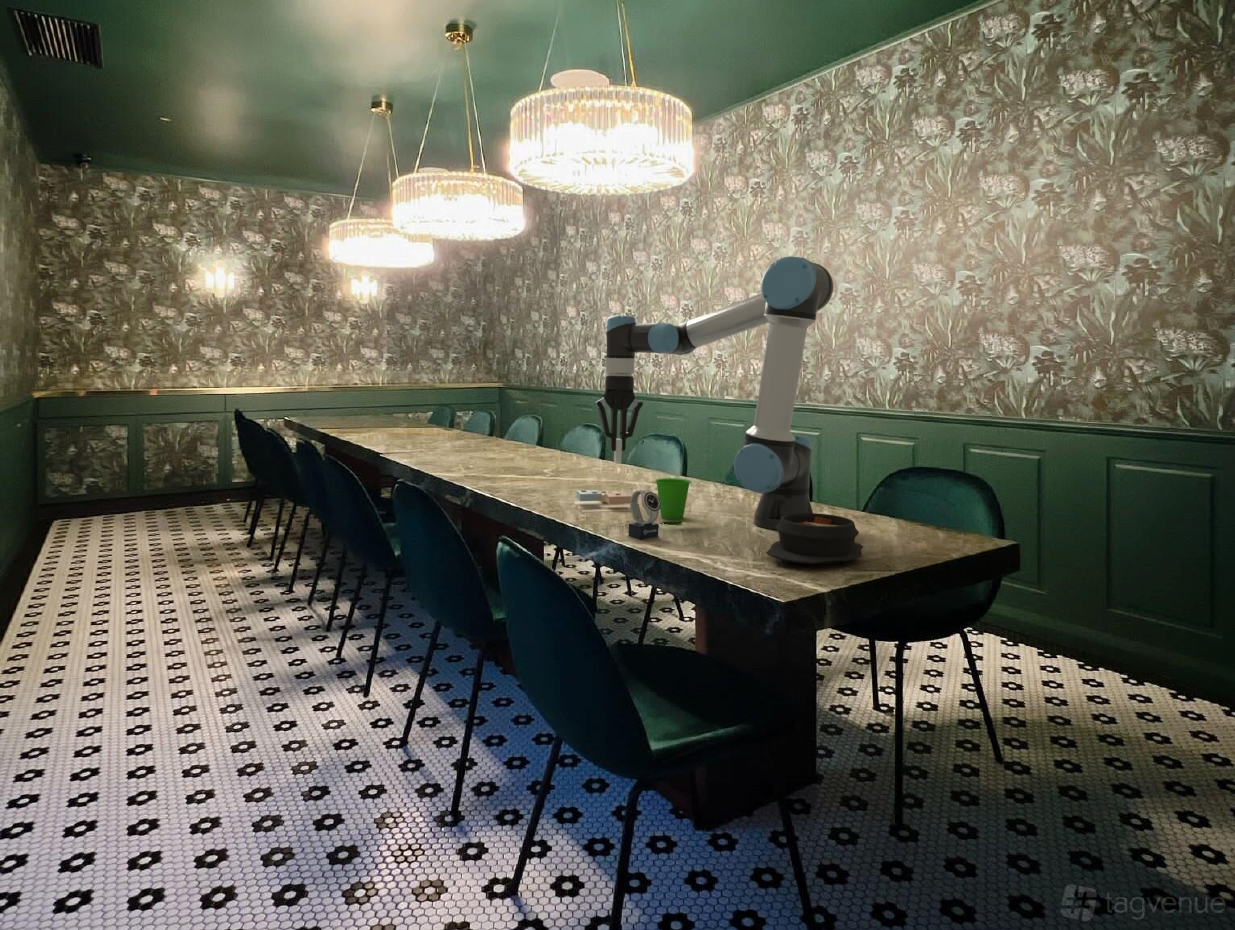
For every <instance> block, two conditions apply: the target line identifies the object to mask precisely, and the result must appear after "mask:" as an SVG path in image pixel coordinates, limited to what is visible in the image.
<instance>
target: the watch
mask: <svg viewBox="0 0 1235 930" xmlns="http://www.w3.org/2000/svg"><path fill="white" fill-rule="evenodd" d="M640 496H641V500H640V501H641V506H642V508H643V509H644V510H645V512H646V514H647V516H648V518H647V520H645V519H643V514H642V511H641V509H640V504H639V497H640ZM630 508H631V511H630V512H631V515H632V517H633V520H634V521H636V522H629V523H628V537H629V536H630V537H629V538H632V537H633V539H636V540H640V541H642V540H647V539H652V538H653V537H654V538H658V537H659V527H660V526H659V523H657V522H655V521H656V520H657V518H658V516H659V514H660V508H661V500H660V499H659V496H658V494H657V493H655V492H654V491H652V490H649V489H639V490H636V491H634V492H632V495H631V501H630Z"/></svg>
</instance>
